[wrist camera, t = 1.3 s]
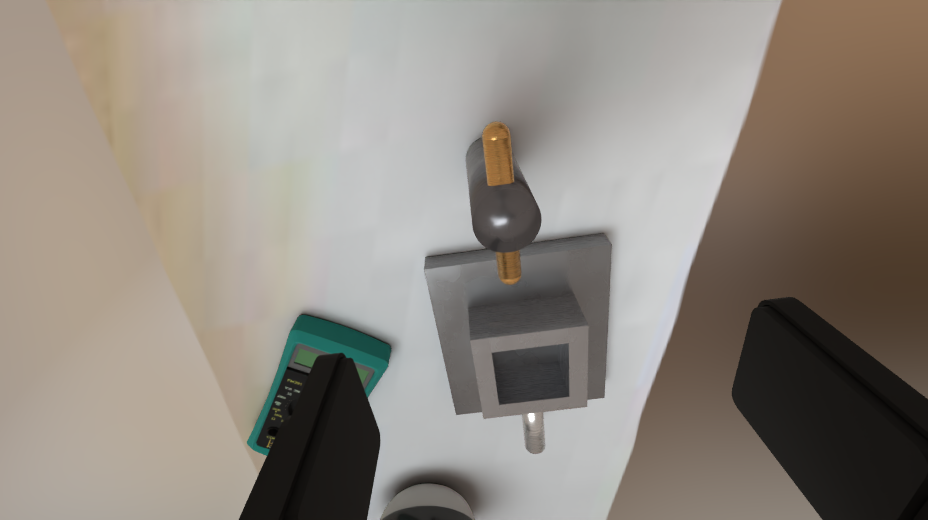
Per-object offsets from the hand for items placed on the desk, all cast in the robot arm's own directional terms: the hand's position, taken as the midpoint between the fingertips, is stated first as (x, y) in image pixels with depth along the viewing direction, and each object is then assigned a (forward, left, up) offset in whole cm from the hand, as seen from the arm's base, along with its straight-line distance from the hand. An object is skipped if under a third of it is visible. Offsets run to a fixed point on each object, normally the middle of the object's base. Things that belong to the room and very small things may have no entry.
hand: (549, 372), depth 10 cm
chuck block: (+14, +1, -17) cm, 22 cm away
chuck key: (0, 0, -17) cm, 17 cm away
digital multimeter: (+17, -16, -18) cm, 29 cm away
